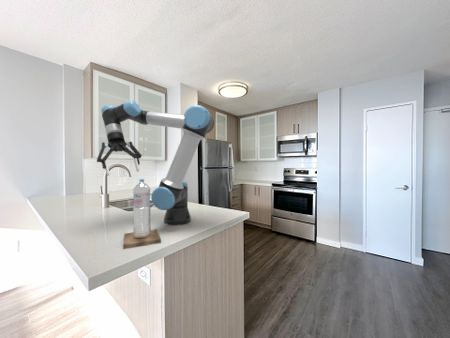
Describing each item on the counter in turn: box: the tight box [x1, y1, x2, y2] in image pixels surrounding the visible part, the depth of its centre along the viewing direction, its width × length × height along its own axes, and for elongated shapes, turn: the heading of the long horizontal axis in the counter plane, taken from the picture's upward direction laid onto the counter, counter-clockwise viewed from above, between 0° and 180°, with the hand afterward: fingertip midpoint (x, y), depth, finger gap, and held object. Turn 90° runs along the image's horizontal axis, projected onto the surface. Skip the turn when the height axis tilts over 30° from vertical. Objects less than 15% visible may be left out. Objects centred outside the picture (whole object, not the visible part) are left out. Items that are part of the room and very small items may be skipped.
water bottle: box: [132, 178, 152, 239], centre depth 84 cm, size 7×7×25 cm
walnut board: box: [122, 228, 162, 250], centre depth 84 cm, size 14×14×2 cm
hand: (124, 172), depth 96 cm, fingers open, 13 cm apart
